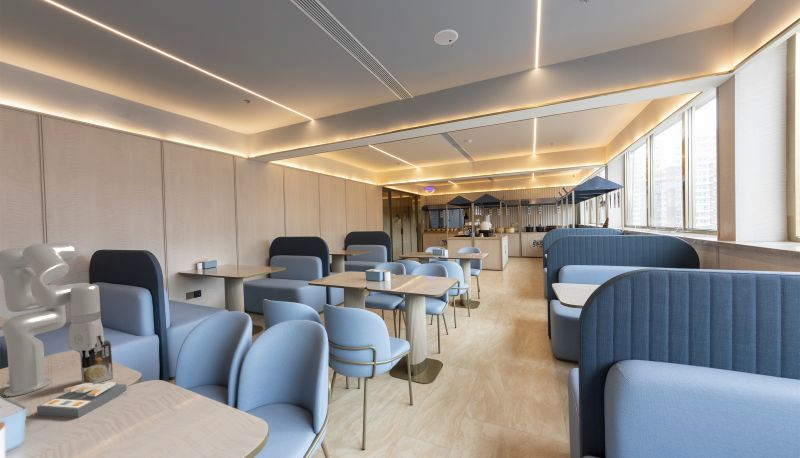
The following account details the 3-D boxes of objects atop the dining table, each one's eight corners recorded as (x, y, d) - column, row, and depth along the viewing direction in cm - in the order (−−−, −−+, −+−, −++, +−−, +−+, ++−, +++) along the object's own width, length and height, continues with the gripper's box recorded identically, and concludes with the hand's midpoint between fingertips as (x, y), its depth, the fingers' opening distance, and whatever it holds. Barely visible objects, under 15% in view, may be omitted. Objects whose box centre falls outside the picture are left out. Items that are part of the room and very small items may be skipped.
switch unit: (37, 414, 107) (36, 404, 107) (89, 389, 123) (89, 380, 123) (78, 417, 104) (78, 407, 104) (126, 391, 120) (126, 382, 120)
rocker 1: (63, 391, 113) (64, 388, 113) (85, 385, 120) (85, 382, 120) (71, 392, 113) (71, 388, 113) (92, 386, 119) (93, 383, 120)
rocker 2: (75, 392, 112) (76, 389, 112) (96, 386, 119) (97, 383, 119) (83, 392, 112) (83, 389, 112) (104, 386, 119) (104, 383, 119)
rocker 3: (87, 396, 111) (87, 393, 111) (108, 384, 118) (107, 381, 118) (95, 396, 111) (94, 393, 111) (115, 384, 118) (115, 381, 118)
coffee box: (110, 374, 136) (108, 339, 135) (113, 378, 132) (111, 342, 131) (81, 383, 128) (79, 346, 128) (83, 388, 124) (81, 350, 124)
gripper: (57, 321, 109) (59, 370, 109) (91, 321, 106) (94, 372, 107) (81, 314, 116) (84, 360, 116) (114, 315, 114) (116, 362, 114)
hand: (88, 366), depth 112 cm, fingers closed
